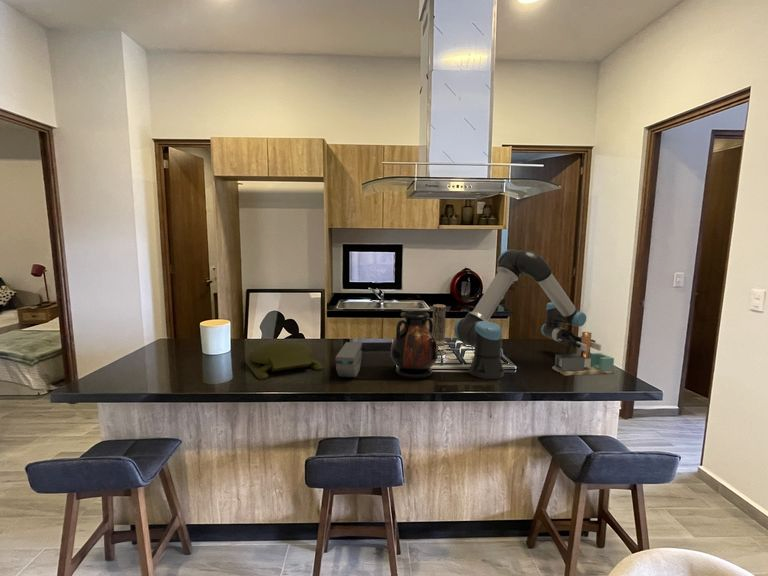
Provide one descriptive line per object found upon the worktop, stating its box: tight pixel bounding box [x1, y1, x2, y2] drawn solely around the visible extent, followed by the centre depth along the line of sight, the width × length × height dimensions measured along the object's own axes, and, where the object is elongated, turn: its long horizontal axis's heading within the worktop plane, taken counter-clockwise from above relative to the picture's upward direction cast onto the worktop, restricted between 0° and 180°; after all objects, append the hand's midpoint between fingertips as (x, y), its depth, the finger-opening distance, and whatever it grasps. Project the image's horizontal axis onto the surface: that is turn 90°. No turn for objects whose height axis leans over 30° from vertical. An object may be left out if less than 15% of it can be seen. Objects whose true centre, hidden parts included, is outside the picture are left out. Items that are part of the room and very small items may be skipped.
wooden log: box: [432, 303, 447, 347], centre depth 226 cm, size 7×7×25 cm
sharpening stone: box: [335, 341, 363, 378], centre depth 187 cm, size 25×8×11 cm, turn 175°
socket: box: [590, 352, 615, 371], centre depth 195 cm, size 6×9×6 cm, turn 10°
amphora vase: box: [390, 310, 439, 379], centre depth 186 cm, size 22×22×28 cm
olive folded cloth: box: [245, 341, 325, 380], centre depth 198 cm, size 35×31×10 cm
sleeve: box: [554, 353, 585, 372], centre depth 192 cm, size 11×6×6 cm, turn 100°
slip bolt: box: [558, 331, 592, 367], centre depth 192 cm, size 15×4×16 cm, turn 100°
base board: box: [552, 365, 614, 376], centre depth 194 cm, size 25×10×1 cm, turn 100°
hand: (593, 347), depth 188 cm, fingers open, 6 cm apart
